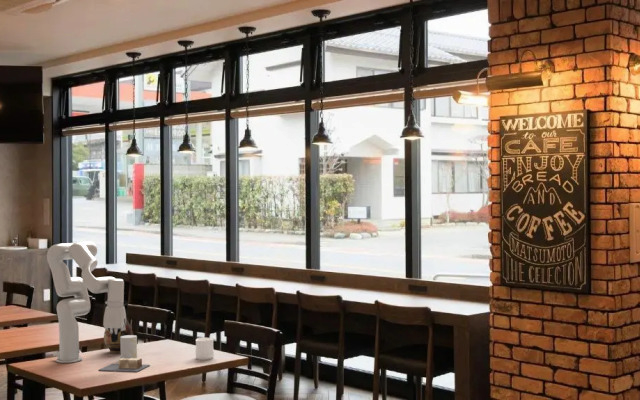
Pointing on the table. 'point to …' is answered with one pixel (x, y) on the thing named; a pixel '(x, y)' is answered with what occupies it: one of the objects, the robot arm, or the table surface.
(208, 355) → the cup
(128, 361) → the block
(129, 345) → the cup
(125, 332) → the ceramic jug
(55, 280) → the robot arm
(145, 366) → the mat
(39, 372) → the table surface
